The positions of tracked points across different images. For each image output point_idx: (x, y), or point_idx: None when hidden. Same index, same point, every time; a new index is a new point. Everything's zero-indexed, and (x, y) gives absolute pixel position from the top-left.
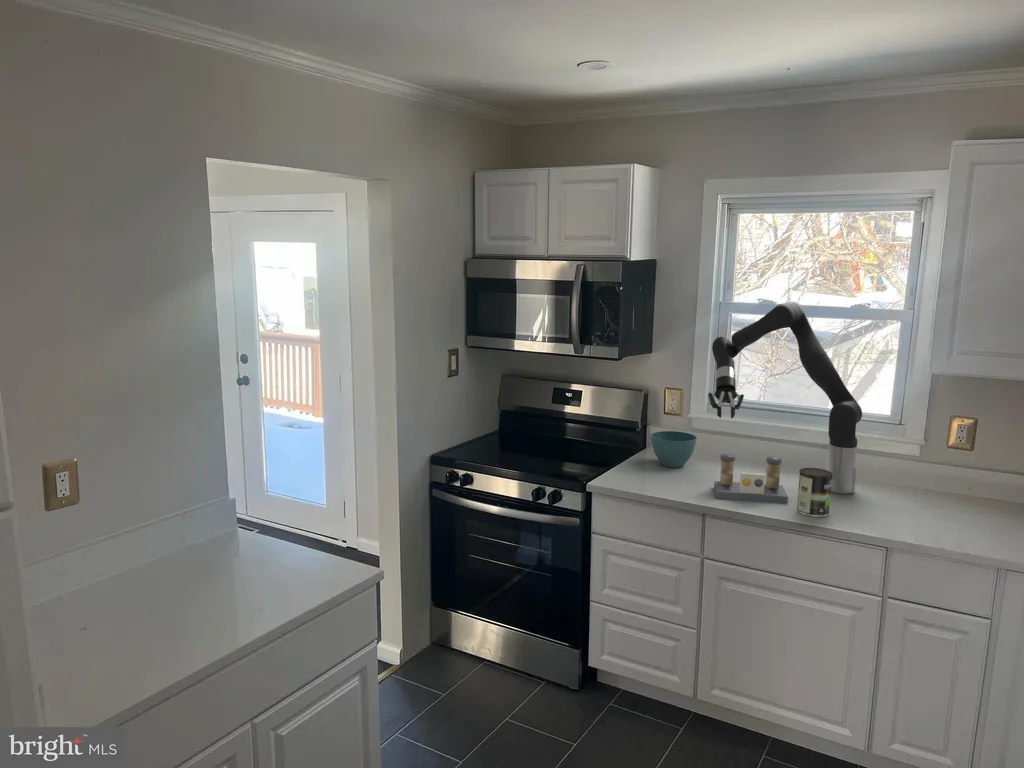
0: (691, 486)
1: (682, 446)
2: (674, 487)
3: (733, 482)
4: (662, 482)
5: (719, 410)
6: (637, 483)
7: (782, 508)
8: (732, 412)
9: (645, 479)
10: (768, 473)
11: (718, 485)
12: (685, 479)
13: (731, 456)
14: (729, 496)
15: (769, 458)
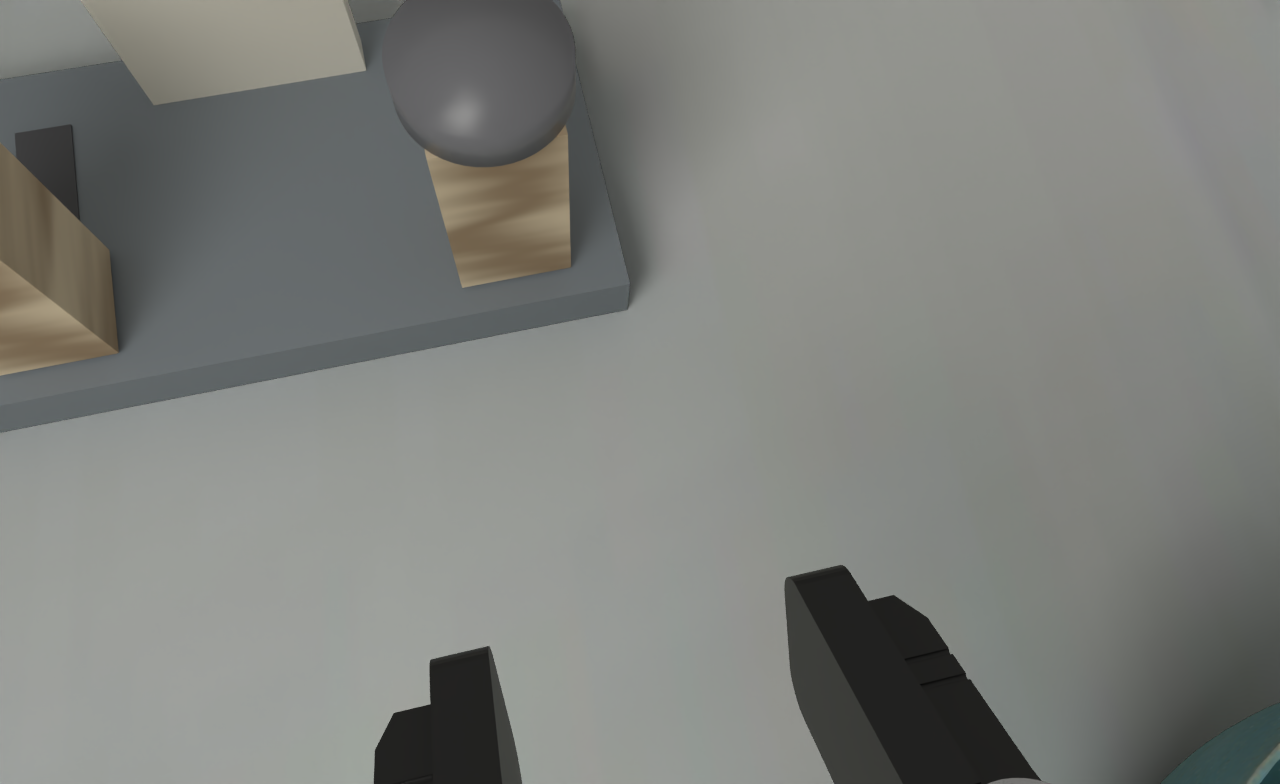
0: (821, 253)
1: (1240, 735)
2: (945, 167)
3: (444, 308)
4: (1086, 259)
5: (910, 678)
6: (1257, 147)
7: (23, 3)
8: (454, 734)
9: (1251, 282)
10: (27, 173)
11: (569, 160)
12: (932, 441)
13: (430, 24)
14: None
15: None
